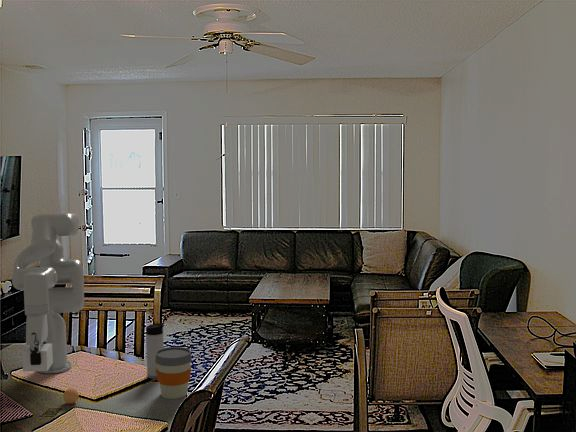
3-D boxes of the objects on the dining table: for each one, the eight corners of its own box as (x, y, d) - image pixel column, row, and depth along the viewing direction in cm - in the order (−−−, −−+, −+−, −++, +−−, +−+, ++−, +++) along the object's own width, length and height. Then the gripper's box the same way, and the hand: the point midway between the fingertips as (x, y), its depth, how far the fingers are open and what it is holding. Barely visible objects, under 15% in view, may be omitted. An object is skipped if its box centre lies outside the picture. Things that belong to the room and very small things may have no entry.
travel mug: (161, 379, 247) (160, 327, 244) (144, 378, 248) (143, 326, 246) (167, 373, 253) (166, 322, 250) (151, 372, 254) (149, 321, 252)
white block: (29, 363, 226) (28, 343, 225) (52, 362, 227) (52, 343, 226) (22, 371, 219) (22, 351, 218) (47, 370, 220) (46, 350, 219)
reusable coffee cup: (162, 403, 225) (161, 360, 223) (151, 390, 236) (150, 349, 234) (197, 396, 231) (196, 354, 229) (185, 384, 242) (184, 344, 240)
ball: (65, 400, 227) (64, 386, 227) (80, 399, 228) (79, 385, 227) (61, 406, 222) (61, 392, 222) (77, 405, 223) (76, 391, 222)
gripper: (32, 302, 229) (34, 352, 231) (17, 316, 212) (20, 369, 214) (54, 302, 230) (56, 351, 232) (41, 315, 212) (44, 368, 214)
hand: (39, 360), depth 223 cm, fingers closed on white block, 7 cm apart
